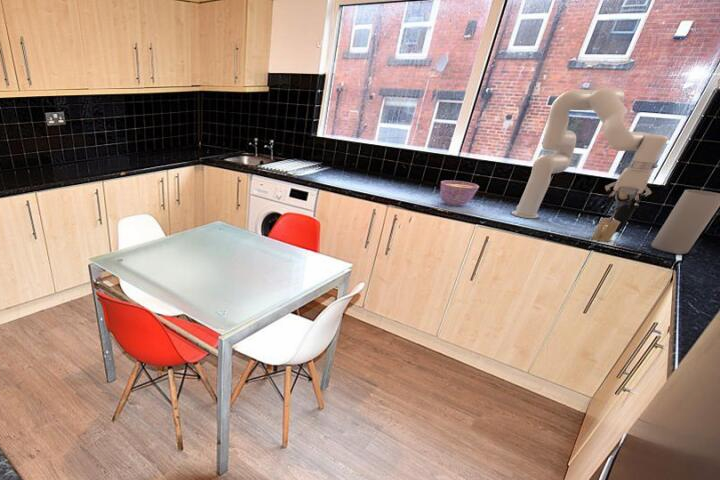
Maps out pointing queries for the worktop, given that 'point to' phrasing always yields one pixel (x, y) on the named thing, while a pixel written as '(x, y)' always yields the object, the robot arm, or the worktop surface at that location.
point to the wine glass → (621, 200)
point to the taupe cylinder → (686, 221)
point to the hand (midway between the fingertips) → (618, 206)
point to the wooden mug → (605, 230)
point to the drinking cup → (624, 215)
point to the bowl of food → (457, 192)
